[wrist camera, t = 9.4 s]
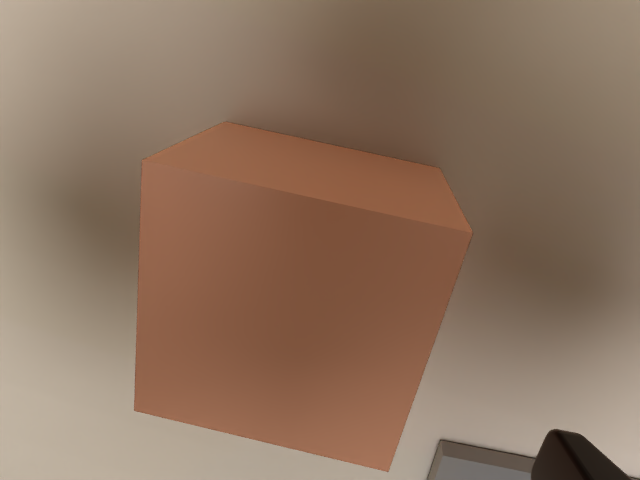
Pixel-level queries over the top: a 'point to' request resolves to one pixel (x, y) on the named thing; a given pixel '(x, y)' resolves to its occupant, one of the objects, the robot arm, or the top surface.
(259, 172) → the terracotta brick
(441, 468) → the baseplate
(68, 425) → the top surface
